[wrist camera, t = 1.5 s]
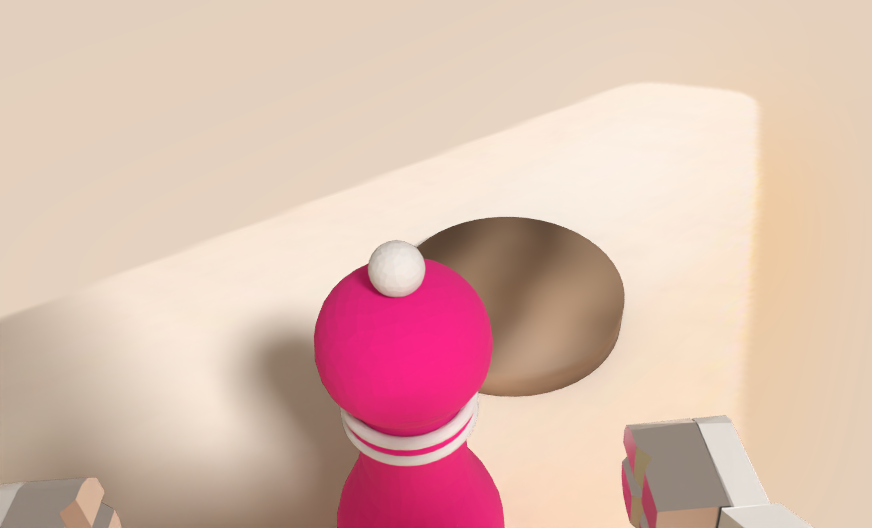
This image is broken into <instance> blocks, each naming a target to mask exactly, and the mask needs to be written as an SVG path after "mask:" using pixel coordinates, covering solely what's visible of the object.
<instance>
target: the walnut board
mask: <svg viewBox="0 0 872 528" xmlns="http://www.w3.org/2000/svg"><path fill="white" fill-rule="evenodd" d="M417 249H418V251H419V252H420V253H421V255H422V256H423V259H428V260H434V261H436V262H438V263H441V264H443V265H445V266H448V267H449V268H451V269H452V270H454V271H455V272H457V273H458V274H460V275H461V276H462V277H463V278H464V279H465V280H466V281H467V282H468V283H469V284H470V285H471V286H472V287H473V288H474V289H475V290H476V292H477V294H478V295H479V297H480V298H481V300H482V302H483V303H484V306H485V308H486V311H487V314H488V316H489V319H490V325H491V331H492V337H493V351H492V358H491V364H490V367H489V370H488V373H487V377H486V379H485V381H484V383H483V385H482V386H481V388H480V390H479V391H478V393H482V394H488V395H496V396H515V397H517V396H530V395H537V394H542V393H548V392H551V391H555V390H558V389H561V388H564V387H566V386H569V385H571V384H573V383H576V382H577V381H579V380H581V379H583V378H584V377H586V376H588V375H589V374H590V373H592V372H593V371H594V370H595V369H597V368H598V367H599V366H600V365H601V364H602V363H603V362H604V361H605V360H606V358H607V357H608V356H609V354H610V353H611V351H612V350H613V348H614V346H615V344H616V341H617V339H618V335H619V331H620V326H621V320H622V314H623V308H624V288H623V283H622V280H621V277H620V274H619V272H618V271H617V269H616V267H615V265H614V264H613V262H612V261H611V260H610V259H609V257H608V256H607V255H606V254H605V253H604V252H603V251H602V250H601V249H600V248H599V247H598V246H596V245H595V244H594V243H592V242H591V241H590V240H588V239H586V238H585V237H583V236H581V235H580V234H578V233H576V232H574V231H571V230H569V229H567V228H565V227H562V226H559V225H556V224H553V223H549V222H545V221H541V220H535V219H530V218H519V217H494V218H485V219H478V220H473V221H469V222H465V223H461V224H458V225H455V226H452V227H450V228H447V229H445V230H443V231H441V232H439V233H437V234H435V235H434V236H432V237H430V238H429V239H427V240H426V241H425V242H423V243H422V244H421V245H419V246H418V247H417Z"/></svg>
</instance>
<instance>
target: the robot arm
mask: <svg viewBox="0 0 872 528" xmlns="http://www.w3.org/2000/svg"><path fill="white" fill-rule="evenodd" d="M623 442H624V446H625V449H626V453H627V457H626V458H625V459H624V460H623V461H622V486H623V495H624V500H625V505H626V510H627V513H628V517H629V521H630V523H631V524H632V525H633V526H634V527H635V528H814V527H813V526H812V525H810V524H809V523H807V522H806V521H805V520H803V519H802V518H801V517H799V516H798V515H797V514H795V513H794V512H792V511H791V510H790V509H788V508H787V507H785V506H784V505H783V504H781V503H770V501H769V499H768V497H767V495H766V493H765V491H764V489H763V487H762V485H761V482H760V480H759V478H758V476H757V474H756V472H755V470H754V468H753V465H752V463H751V461H750V459H749V457H748V455H747V453H746V450H745V448H744V446H743V444H742V442H741V440H740V438H739V435H738V433H737V431H736V429H735V427H734V425H733V423H732V421H731V420H730V419H729V418H728V417H727V416H726V415H724V416H714V417H704V418H693V419H690V418H689V419H679V420H670V421H661V422H652V423H642V424H633V425H626V428H625V430H624V441H623ZM104 492H105V491H104V489H103V487H102V486H101V484H100V483H99V481H98V479H97V478H75V479H60V480H46V481H31V482H21V483H9V484H0V528H122V527H121V523H120V519H119V517H118V515H117V513H116V511H115V510H114V509H113V508H111V507H109V506H107V505H106V504H104V503H102V502H101V501H102V498H103V495H104Z"/></svg>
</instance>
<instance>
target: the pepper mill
mask: <svg viewBox="0 0 872 528" xmlns="http://www.w3.org/2000/svg"><path fill="white" fill-rule="evenodd" d="M314 347H315V362H316V365H317V368H318V371H319V374H320V377H321V381H322V383H323V384H324V386H325V388H326V389H327V391H328V392H329V394H330V395H331V397H332V398H333V399H334V400H335V401H336V403H337V404H338V405H339V407H340V411H341V419H342V424H343V427H344V430H345V432H346V434H347V436H348V438H349V439H350V440H351V442H352V443H353V444H354V445H355V446H356V447H357V448H358V449H359V450H360V454H359V458H358V460H357V462H356V464H355V465H354V467H353V469H352V471H351V473H350V474H349V476H348V478H347V480H346V482H345V485H344V488H343V491H342V495H341V499H340V504H339V508H338V513H337V528H504V515H503V507H502V503H501V499H500V495H499V492H498V490H497V488H496V486H495V484H494V482H493V480H492V477H491V476H490V474H489V473H488V471H487V470H486V468H485V466H484V465H483V463H482V462H481V461H480V460H479V458H478V457H477V456H476V455H475V454H474V453H473V452H472V451H471V450H470V449H469V448H468V447H467V442H466V440H467V438H468V437H469V435H470V434H471V432H472V431H473V428H474V426H475V423H476V419H477V416H478V408H479V407H478V391H479V390H480V388H481V386H482V385H483V383H484V381H485V379H486V377H487V373H488V370H489V367H490V364H491V358H492V351H493V337H492V331H491V325H490V319H489V316H488V314H487V311H486V308H485V306H484V303H483V302H482V300H481V298H480V297H479V295H478V294H477V292H476V290H475V289H474V288H473V287H472V286H471V285H470V284H469V283H468V282H467V281H466V280H465V279H464V278H463V277H462V276H461V275H460V274H458V273H457V272H455V271H454V270H452V269H451V268H449V267H448V266H445V265H443V264H441V263H438V262H436V261H434V260H428V259H423V256H422V255H421V253H420V252H419V251H418V249H417V248H415V247H414V246H413V245H411V244H409V243H407V242H405V241H398V240H394V241H388V242H386V243H384V244H382V245H380V246H379V247H378V248H377V249H376V250H375V251H374V252H373V254H372V255H371V258H370V260H369V264H367V265H365V266H362V267H360V268H358V269H356V270H355V271H353V272H352V273H350V274H349V275H348V276H346V277H345V278H343V279H342V280H341V281H340V282H339V283H338V284H337V285H336V286H335V287H334V288H333V289H332V291H331V292H330V294H329V295H328V297H327V298H326V300H325V301H324V303H323V305H322V308H321V310H320V313H319V316H318V319H317V322H316V326H315V333H314Z"/></svg>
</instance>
